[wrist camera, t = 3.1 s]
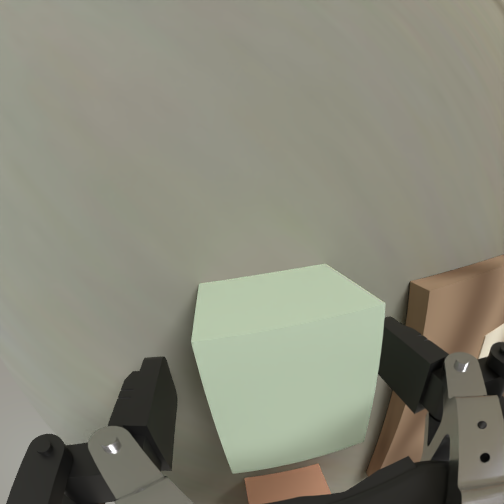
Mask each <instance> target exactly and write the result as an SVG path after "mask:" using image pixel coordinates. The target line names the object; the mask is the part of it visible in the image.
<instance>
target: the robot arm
mask: <svg viewBox="0 0 504 504" xmlns="http://www.w3.org/2000/svg"><path fill="white" fill-rule="evenodd" d="M378 374H379V375H380V376H381V378H382V379H383V380H384V381H385V382H386V383H387V384H388V385H389V386H390V388H391V389H392V390H393V391H394V392H395V393H396V394H397V395H398V396H399V397H400V399H401V400H402V401H403V402H404V403H405V404H406V405H407V406H408V407H409V409H410V410H411V411H412V412H413V413H414V414H416V413H418V412H420V411H422V410H423V409H426V410H427V411H428V412H427V414H426V417H425V432H424V444H423V453H422V457H421V460H420V462H415V463H414V462H413V461H412V460H411V458H410V457H409V456H407V457H405V458H403V459H401V460H399V461H397V462H395V463H393V464H391V465H388V466H386V467H384V468H382V469H380V470H377V471H376V472H374V473H373V474H372V475H370V476H369V477H367V478H366V479H364V480H363V481H361V482H360V483H358V484H357V485H355V486H354V487H352V488H350V489H349V490H347V491H345V492H342V493H335V494H326V495H315V496H300V497H295V498H291V499H286V500H281V501H276V502H271V503H265V504H504V397H503V396H502V395H503V393H504V342H497V343H495V344H493V345H492V346H491V349H490V352H489V355H488V357H484V358H480V359H476V358H475V357H474V356H473V355H471V354H468V353H464V352H455V353H452V354H450V355H449V354H448V353H447V352H445V351H444V350H443V349H441V348H440V347H439V346H437V345H436V344H434V343H433V342H432V341H430V340H428V339H427V338H426V337H425V336H423V335H421V334H420V333H419V332H418V331H416V330H415V329H413V328H411V327H408V326H405V325H402V324H401V323H399V322H398V321H396V320H395V319H394V318H392V317H386V318H384V329H383V339H382V348H381V356H380V363H379V370H378ZM176 412H177V394H176V389H175V386H174V383H173V380H172V376H171V373H170V370H169V367H168V363H167V360H166V358H165V357H150V358H144V360H143V363H142V366H141V369H140V371H133V372H132V373H131V374H130V375H129V376H128V377H127V378H126V379H125V380H124V383H123V386H122V388H121V391H120V393H119V396H118V399H117V401H116V404H115V407H114V410H113V412H112V415H111V418H110V421H109V424H108V426H107V427H103V428H101V429H99V430H97V431H96V432H94V433H93V434H92V435H91V437H90V439H89V441H88V443H82V444H75V445H65V444H64V442H63V441H62V440H61V439H60V438H59V437H58V436H56V435H53V434H44V435H41V436H38V437H37V438H35V439H34V440H33V441H32V442H31V443H30V445H29V447H28V449H27V452H26V454H25V456H24V458H23V461H22V463H21V466H20V468H19V471H18V473H17V476H16V478H15V481H14V483H13V486H12V489H11V491H10V495H9V497H8V500H7V503H6V504H105V502H112V501H115V504H194V503H193V502H192V501H191V500H190V499H189V498H188V497H187V496H186V495H185V494H184V493H183V492H182V491H181V490H180V489H179V488H178V487H177V486H176V485H175V484H174V483H173V482H172V481H171V480H170V479H169V478H168V477H167V476H164V475H163V474H162V473H161V470H163V471H172V457H173V444H174V432H175V422H176Z"/></svg>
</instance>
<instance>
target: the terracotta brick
mask: <svg viewBox="0 0 504 504" xmlns="http://www.w3.org/2000/svg"><path fill="white" fill-rule="evenodd" d="M244 479H245V485H246V491H247V497H248V502H249V504H265V503H271V502H276V501H281V500H286V499H291V498H295V497H300V496H315V495H326V494H331V492H330V490H329V487H328V485H327V483H326V480H325V478H324V476H323V473H322V471H321V469H320V466H319V464H315V465H311V466H307V467H303V468H299V469H294V470H290V471H285V472H280V473H274V474H268V475H262V476H256V477H248V478H244Z"/></svg>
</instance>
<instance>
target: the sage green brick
mask: <svg viewBox="0 0 504 504" xmlns="http://www.w3.org/2000/svg"><path fill="white" fill-rule="evenodd" d="M385 304H386V303H384V302H383V301H381V300H380V299H378V298H377V297H375V296H374V295H372V294H371V293H369V292H368V291H366V290H365V289H363V288H362V287H360V286H359V285H357V284H356V283H354V282H353V281H351V280H350V279H348V278H347V277H345V276H344V275H342V274H340V273H339V272H337V271H336V270H334V269H333V268H331V267H330V266H328V265H327V264H321V265H315V266H309V267H303V268H297V269H291V270H285V271H279V272H273V273H267V274H260V275H254V276H247V277H241V278H234V279H228V280H221V281H214V282H208V283H201V284H199V288H198V295H197V302H196V309H195V316H194V324H193V331H192V339H191V343H192V347H193V351H194V355H195V359H196V362H197V366H198V370H199V373H200V377H201V380H202V384H203V387H204V391H205V394H206V397H207V401H208V404H209V407H210V410H211V414H212V417H213V420H214V423H215V426H216V429H217V432H218V435H219V438H220V441H221V444H222V446H223V449H224V452H225V455H226V458H227V460H228V463H229V466H230V468H231V471H232V473H233V474H235V473H243V472H250V471H256V470H262V469H268V468H273V467H278V466H283V465H288V464H292V463H296V462H301V461H305V460H308V459H312V458H316V457H319V456H323V455H326V454H329V453H333V452H336V451H339V450H342V449H345V448H348V447H350V446H353V445H356V444H359V443H361V442H364V439H365V435H366V431H367V427H368V423H369V418H370V414H371V409H372V404H373V399H374V394H375V388H376V383H377V376H378V370H379V363H380V356H381V348H382V339H383V329H384V318H385Z"/></svg>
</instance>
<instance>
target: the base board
mask: <svg viewBox="0 0 504 504" xmlns="http://www.w3.org/2000/svg"><path fill="white" fill-rule="evenodd" d="M405 326H408V327H411V328H413V329H415V330H416V331H418V332H419V333H420V334H421V335H423V336H425V337H426V338H427V339H428V340H430V341H432V342H433V343H434V344H436V345H437V346H439V347H440V348H441V349H443V350H444V351H445V352H447V353H448V354H449V355H450V354H452V353H455V352H464V353H468V354H471V355H473V356H474V357H475V358H476V359H480V358H484V357H488V355H489V352H490V349H491V346H492V345H493V344H495V343H497V342H504V255H501V256H498V257H495V258H491V259H488V260H485V261H482V262H479V263H475V264H472V265H469V266H465V267H462V268H458V269H455V270H451V271H448V272H444V273H441V274H437V275H433V276H429V277H426V278H422V279H418V280H414V281H410V291H409V301H408V310H407V318H406V325H405ZM502 396H503V397H504V393H503V395H502ZM427 412H428V411H427V410H426V409H423V410H422V411H420V412H418V413H416V414H414V413H413V412H412V411H411V410H410V409H409V407H408V406H407V405H406V404H405V403H404V402H403V401H402V400H401V399H400V397H399V396H398V395H397V394H396V393H395V392H394V391H393V392H392V396H391V399H390V403H389V407H388V410H387V414H386V417H385V420H384V424H383V427H382V430H381V433H380V436H379V439H378V442H377V445H376V448H375V450H374V453H373V456H372V459H371V461H370V464H369V466H368V469H367V471H366V473H367V475H368V477H369V476H370V475H372V474H373V473H374V472H376V471H377V470H380V469H382V468H384V467H386V466H388V465H391V464H393V463H395V462H397V461H399V460H401V459H403V458H405V457H407V456H409V457H410V458H411V460H412V461H413V462H414V463H415V462H420V460H421V457H422V453H423V444H424V432H425V417H426V414H427Z"/></svg>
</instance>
